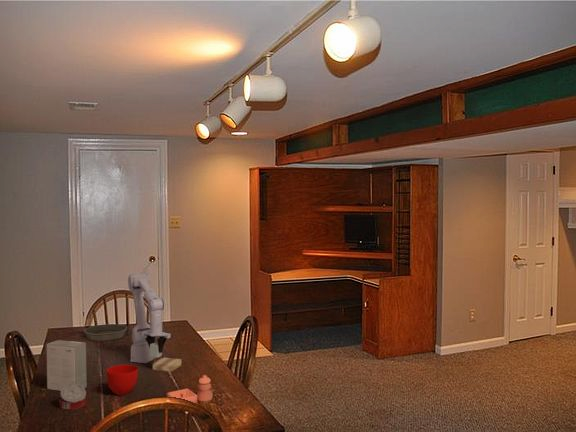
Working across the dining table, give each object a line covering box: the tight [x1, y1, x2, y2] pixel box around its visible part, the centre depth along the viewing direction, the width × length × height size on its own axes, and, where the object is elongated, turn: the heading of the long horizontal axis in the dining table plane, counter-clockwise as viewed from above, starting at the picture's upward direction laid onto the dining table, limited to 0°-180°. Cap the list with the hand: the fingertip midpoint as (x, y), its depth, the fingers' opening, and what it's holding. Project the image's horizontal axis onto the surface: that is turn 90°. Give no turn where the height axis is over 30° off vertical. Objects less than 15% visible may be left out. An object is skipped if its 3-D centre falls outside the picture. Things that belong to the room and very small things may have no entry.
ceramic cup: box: [105, 364, 139, 396], centre depth 238 cm, size 13×17×10 cm
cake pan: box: [83, 323, 128, 341], centre depth 330 cm, size 25×25×4 cm
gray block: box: [150, 341, 163, 359], centre depth 266 cm, size 4×4×6 cm
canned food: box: [59, 381, 87, 411], centre depth 223 cm, size 11×10×10 cm
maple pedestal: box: [152, 357, 182, 372], centre depth 271 cm, size 10×10×3 cm
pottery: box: [166, 374, 214, 405], centre depth 227 cm, size 18×10×10 cm, turn 124°
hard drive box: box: [45, 339, 88, 392], centre depth 241 cm, size 16×8×20 cm, turn 71°
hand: (156, 351), depth 267 cm, fingers closed on gray block, 4 cm apart
